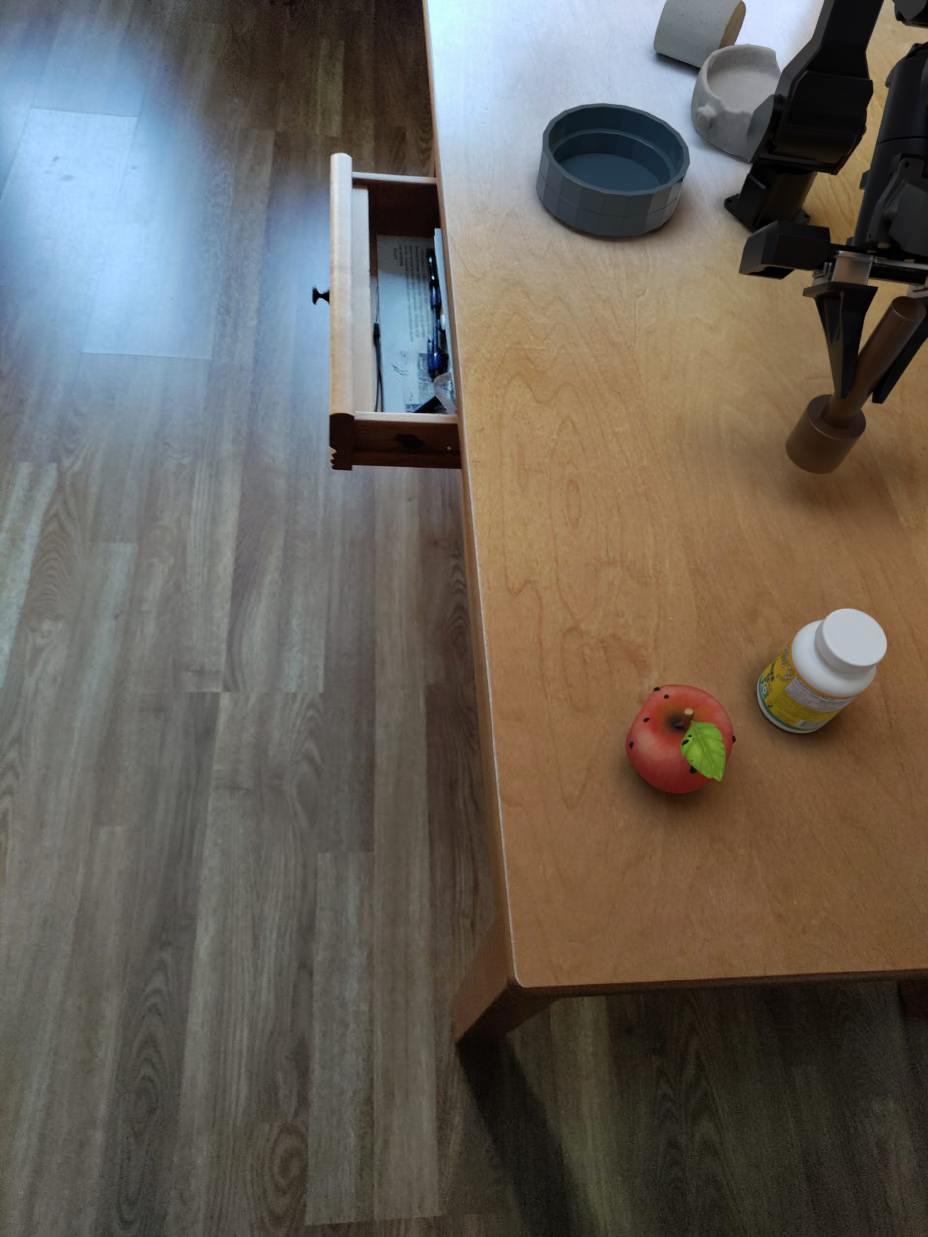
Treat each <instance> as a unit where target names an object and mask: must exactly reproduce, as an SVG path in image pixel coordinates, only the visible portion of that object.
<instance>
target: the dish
mask: <svg viewBox="0 0 928 1237" xmlns="http://www.w3.org/2000/svg"><path fill="white" fill-rule="evenodd" d="M699 69H700V70H699V72H698V74H697V78H696V80H695V84H694V87H693V91H692V96H691V101H690V115H691V119H692V122H693V125H694V127H695V129H696V130H697V132H698V133H699V134H700V136H701V137H702V138H703V139H704V140H706V141H707V143H709V144H711V145H712V146H714V147H716V148H718V149H720V150H722V151H724V152H726V153H729V154H731V155H735V156H738V157H741V158H745V159H748V149H747V132H748V128H749V125H750V121H751V118H752V114H753V112H754V110H755V109H756V108H757V107H758V106H759V105H760V104H761V103H763V102H764V101H765V100H766V99H767V98H768V97H769V96H770V95H771V94H774V93H775V90H776V88H777V85H778V82H779V79H780V76H781V73H782V71H781V68H780V67H779V63H778V60H777V52H776V50H774V49H773V48H771V47H769V46H768V47H767V46H764V45H758V44H751V43H742V44H734V45H732V46H728V47H724V48H722V49H719V50H717V51H715V52H713V53H712V54H711V55H710V56H709V57H708V58H707V60H706V61H705V62H704V63H703V65H702V67H701V68H699Z"/></svg>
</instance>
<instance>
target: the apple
mask: <svg viewBox="0 0 928 1237" xmlns="http://www.w3.org/2000/svg"><path fill="white" fill-rule="evenodd" d="M652 690H653V691H652V692H651V693H650V694H649V696H648V698H647V699H646V701H645V702H644V704H643V705H642V707H641V709H640V710H639V712H638V714H637V715H636V716H635V719H634V720H633V722H632V724H631V726H630V728H629V731H628V733H627V735H626V739H625V751H626V756H627V758H628V760H629V762H630V764H631V766H632V767H633V769H634V770H635V771H636V772H637V774H639V776H641V778H642V779H643V780H644V781H646V782H647V783H648V784H650V785H651V786H652V787H654V788H656V789H658V790H659V791H660V790H661V791H663V792H667V793H673V794H684V793H685V794H686V793H691V792H695V791H697V790H700V789H703V788H704V787H707V786H708V785H710V784H712V782H713V781H715V780H716V781H718V782H721V781H722V780H723V776H724V772H725V767H726V765H727V764H728V762H729V759H730V757H731V753H732V749H733V745H734V743H735V742H737V739H736V738H737V737H736V735H734V729H733V723H732V720H731V717H730V715H729V713H728V711H727V710H726V708H725V707H724V706H723V704H721V702H720V701H719V699H717V698H716V697H714V696H713V695H712V694H711V693H709V692H707V691H705V690H703V689H701V688H698V687H696V686H691V685H688V684H687V685H686V684H680V683H679V684H675V683H674V684H673V683H672V684H670V683H669V684H663V685H661V686H656V687H653V689H652Z"/></svg>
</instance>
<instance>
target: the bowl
mask: <svg viewBox="0 0 928 1237" xmlns="http://www.w3.org/2000/svg"><path fill="white" fill-rule="evenodd" d="M540 143H541V144H540V148H539V154H538V162H537V167H536V175H535V191H536V192H537V195H538V196H539V199H540V201H541V203H542V205H543V206H545V208H546V209H547V210H548V211H549V212H550V213H551V214H553V216H554V217H556V218H557V219H559V220H560V221H562V222H563V223H565V224H566V225H568V226H570V227H572V228H574V229H576V230H578V231H579V232H583V233H586V234H590V235H594V236H598V237H604V238H627V237H633V236H641V235H643V234H646V233H648V232H651V231H653V230H656V229H658V228H660V227H662V226H663V225H664V224H665V223H666V222H667V221H668V220H669V219H670V218H672V217H673V214H674V213H675V210H676V207H677V205H678V202H679V200H680V196H681V193H682V190H683V187H684V184H685V180H686V178H687V174H688V171H689V168H690V165H691V159H690V158H691V157H690V148H689V147H688V145H687V143H686V141H685V140H684V137H683V136H682V135H681V134H680V132H679V131H678V130H676V129H675V128H674V127H673V126H672V125H670V124H669V123H668V122H667V121H666V120H664V119H662V118H660V117H658V116H656V115H654V114H652V113H650V112H648V111H646V110H643V109H640V108H636V107H633V106H629V105H624V104H616V103H609V102H608V103H607V102H597V103H587V104H579V105H577V106H574V107H571V108H568V109H564V110H563V111H561V112H560V113H559V114H557V115H556V116H554V117H553V118H551V119H550V120H549V122H548V124H547V125H546V127H545V129H544V130H543V132H542V135H541V142H540Z"/></svg>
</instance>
